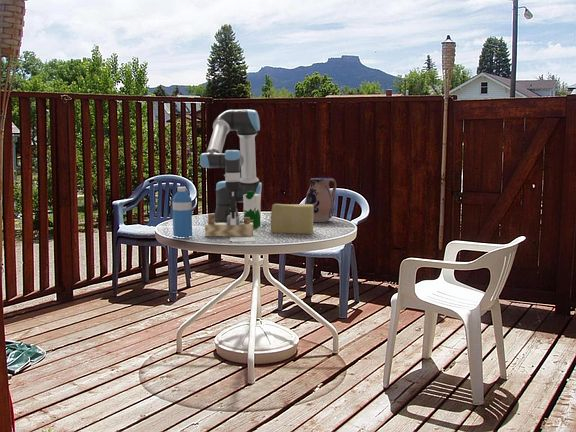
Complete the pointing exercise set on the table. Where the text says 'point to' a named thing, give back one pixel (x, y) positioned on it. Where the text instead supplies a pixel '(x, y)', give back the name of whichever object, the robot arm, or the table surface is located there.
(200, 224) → the table surface
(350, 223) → the table surface
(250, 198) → the milk carton
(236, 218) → the lever cap
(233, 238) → the mat
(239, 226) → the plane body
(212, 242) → the table surface
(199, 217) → the table surface
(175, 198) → the water bottle
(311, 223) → the cheese
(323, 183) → the ceramic pitcher
